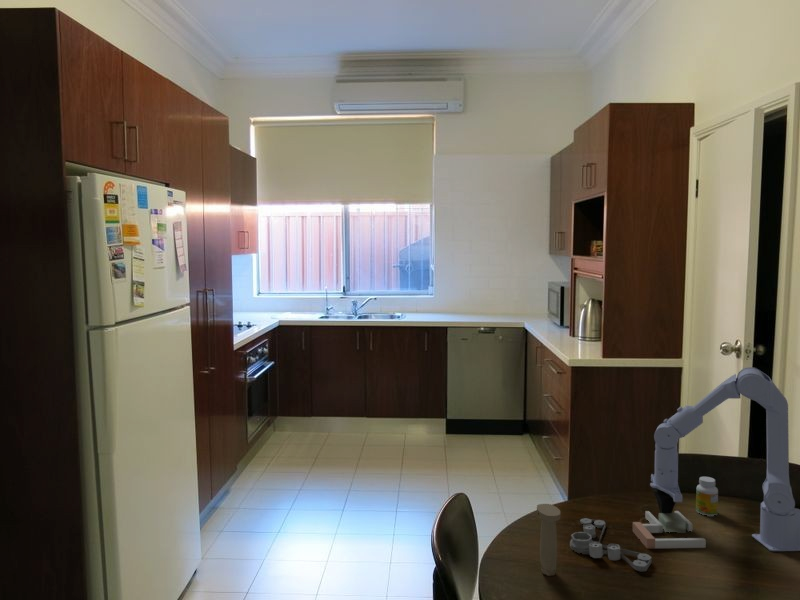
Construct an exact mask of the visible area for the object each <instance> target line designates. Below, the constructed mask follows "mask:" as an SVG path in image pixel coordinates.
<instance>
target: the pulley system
mask: <svg viewBox="0 0 800 600" xmlns="http://www.w3.org/2000/svg"><path fill="white" fill-rule="evenodd" d="M579 522H580V524H581V525H582V524H583V525H582V528H583V531H578V532H576V531H575V532H574V533H572V534H570V536H571V539H570V540H569V547H570V549H571V550H572V551H573V550H574V552H575V553H576V552H577V554H580V553H582V554H581V555H589V556H590V557H592V558H593V559H601V558H602V557H603V556H604V555H607V557H608V559H609V560H610V561H619V560H621V558H622V559H623V560H624V561H626V563H627V564H629V565H630V567H632V568H633V569H634V570H635V571H636V572H647V570H648V569H649V567H650V566H651V564H652V556H651V555H649V554H647V553H643V552H642V553H641V552H638V551H632V550H629V549H625V548H621V546H620V545H619V544H617V543H608V545H607V544H602V543H601V541H602V538H603V536H602V535H604V533H605V530H606V529H607V527H606V526H607V524H606V522H605V520H601V519H592V518H591V519H590V518H587V517H585V518H581V519H580V521H579ZM593 522H594V523H593ZM592 523H593V524H594V525H593V524H592ZM596 527H597V529H602V531H601V534H600V536H599V539H598V541H595V540H593V539H596V537H597V533H596ZM592 538H593V539H592ZM603 549H604V550H603ZM605 549H606V550H605ZM624 554H627V555H630V556H634V557H637V559H634V560H633V562H632V561H631V560H630V559H629V558H628V557H626V556H625V555H624Z"/></svg>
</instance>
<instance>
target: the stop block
mask: <svg viewBox="0 0 800 600" xmlns="http://www.w3.org/2000/svg"><path fill="white" fill-rule="evenodd" d="M642 524H643V523H642V522H641V521H632V532H633V534H635V536H636V537H637V539H638V540H639V539H640V540H639V541H640V542H641V543H642V545H643V546H644V547H645V548H646V549H656V548H655V539H656V537H655V536H653V534H652V533H650V532H649V531H648V530H647V529H646V528H645V527H644V526H643V525H642Z"/></svg>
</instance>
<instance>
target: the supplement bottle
mask: <svg viewBox="0 0 800 600" xmlns="http://www.w3.org/2000/svg"><path fill="white" fill-rule="evenodd" d="M698 483H699V484H697V486H696V493H695V494H696V496H695V511H696V512H697V513H698V514H699V513H700V514H699V515H701V514H702V515H701V516H704V515H707V516H706V517H715V516H714V515H716V516H718V512H719V511H718V509H719V489H718V487H716V479H715V478H713V477H710V476H700V477H699V480H698Z"/></svg>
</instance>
